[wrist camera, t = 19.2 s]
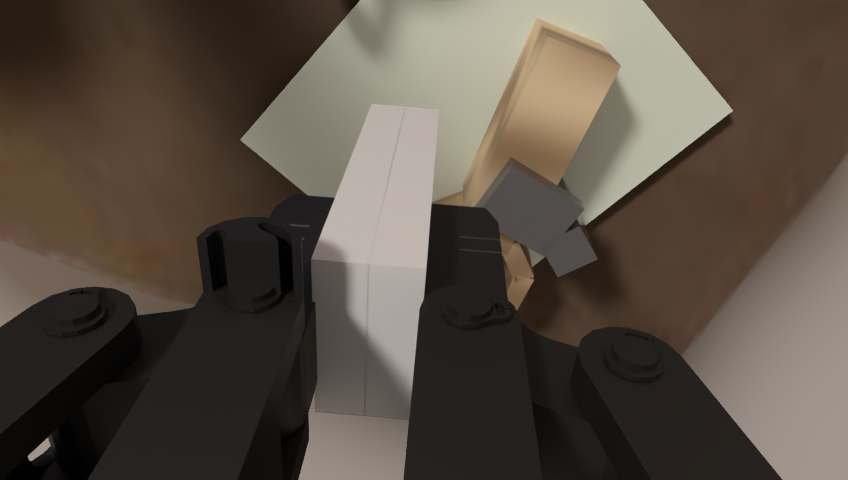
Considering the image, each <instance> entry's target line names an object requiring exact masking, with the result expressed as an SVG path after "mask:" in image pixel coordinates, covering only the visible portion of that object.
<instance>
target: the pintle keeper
mask: <svg viewBox="0 0 848 480" xmlns="http://www.w3.org/2000/svg"><path fill="white" fill-rule="evenodd" d="M475 207H480V208H486V209H487V210H488V211H489V212H490V214H491V215H492V216H493V217H494V218H495V219H496V220H497V221H498V224H499V231H500V232H502V233H503V234H505V235H507V236H509V237H510V238H512V239H514V240H516V241H517V242H519V243H521V244H523V245H524V246H526V247H528V248H529V249H531V250H533V251H535V252H536V253H538V254H540V255H542V256H543V257H545V256H546V258H547V260H548V261H549V263H550V265H551V266H552V268H553V270H554V271H555V273H556V275H557V277H560V276H562V275H564V274H566V273H569V272H571V271H573V270H575V269H578V268H580V267H582V266H584V265H586V264H589V263H591V262H593V261H595V260H598V259H597V256H596V253H595V251H594V248H593V245H592V243H591V240H590V237H589V235H588V232H587V229H586V227H585V224H584V221H583V219H582V216H581V213H582V212H583V211H584V207H583V204H582V202H581V199H579V198H577V197H576V196H574V195H572V194H571V192H570V190H569V188H568V186H567V184H566V182H565V180H564V179H563V177H562V178H561V180H560V182H559V184H558V185H556V184H554V183H553V182H551V181H549V180H548V179H546V178H545V177H543V176H541V175H540V174H538V173H536V172H535V171H533V170H531V169H530V168H528V167H527V166H525V165H523V164H522V163H520V162H518V161H517V160H515V159H513V158H512V157H511V158H510V159H509V161H508V162H507V164H506V165H505V166H504V168H503V169H502V170H501V172H500V173H499V174H498V176H497V177H496V178H495V180H494V181H493V182H492V184H491V185H490V186H489V188H488V189H487V191H486V192H485V193H484V195H483V196H482V197H481V199H480V200H479V201H478V203H477V204H476V205H475Z"/></svg>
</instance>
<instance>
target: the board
mask: <svg viewBox="0 0 848 480" xmlns="http://www.w3.org/2000/svg"><path fill="white" fill-rule="evenodd" d="M536 18H539V19H541V20H543V21H546V22H548V23H551V24H553V25H556V26H558V27H561V28H563V29H566V30H568V31H570V32H573V33H575V34H578V35H580V36H583V37H585V38H588V39H590V40H593V41H595V42H597V43H600V44H601V45H602V46H603V47H604V48H605V49H606V50H607V51H608V52H609V53H610V54H611V56H612V57H613V58H614V59H615V60H616V61H617V62H618V63H619V64H620V65H621V67H620V69H619V71H618V73H617V75H616V77H615V79H614V81H613V82H612V84H611V86H610V88H609V90H608V92H607V94H606V96H605V97H604V99H603V101H602V103H601V105H600V107H599V109H598V111H597V112H596V114H595V116H594V118H593V120H592V122H591V124H590V126H589V127H588V129H587V131H586V133H585V135H584V137H583V139H582V141H581V142H580V144H579V146H578V148H577V150H576V152H575V154H574V156H573V157H572V159H571V161H570V163H569V165H568V167H567V169H566V171H565V173H564V174H563V176H562V177H563V179H564V180H565V182H566V184H567V186H568V188H569V190H570V192H571V194H572V195H574V196H576V197H577V198H579V199H581V202H582V204H583V207H584V211H583V212H582V213H581V216H582V219H583V221H584V224H585V226H586V225H587V224H588V223H589V222H591V221H592V220H593V219H595V218H596V217H597V216H598V215H600V214H601V213H602V212H604V211H605V210H606V209H607V208H609V207H610V206H611V205H613V204H614V203H615V202H616V201H618V200H619V199H620V198H622V197H623V196H624V195H625V194H627V193H628V192H629V191H631V190H632V189H633V188H634V187H636V186H637V185H638V184H639V183H641V182H642V181H643V180H645V179H646V178H647V177H648V176H650V175H651V174H652V173H654V172H655V171H656V170H657V169H659V168H660V167H661V166H663V165H664V164H665V163H666V162H668V161H669V160H670V159H672V158H673V157H674V156H675V155H677V154H678V153H679V152H681V151H682V150H683V149H684V148H686V147H687V146H688V145H690V144H691V143H692V142H693V141H695V140H696V139H697V138H699V137H700V136H701V135H702V134H704V133H705V132H706V131H708V130H709V129H710V128H711V127H713V126H714V125H715V124H717V123H718V122H719V121H720V120H722V119H723V118H724V117H726V116H727V115H728V114H729V113H731V112H732V111H733V110H732V109H731V108H730V106H729V105H728V104H727V103H726V102H725V100H724V99H723V98H722V97H721V95H720V94H719V93H718V92H717V91H716V89H715V88H714V87H713V86H712V84H711V83H710V82H709V81H708V80H707V78H706V77H705V76H704V75H703V74H702V72H701V71H700V70H699V69H698V67H697V66H696V65H695V64H694V63H693V61H692V60H691V59H690V58H689V56H688V55H687V54H686V53H685V52H684V50H683V49H682V48H681V47H680V45H679V44H678V43H677V42H676V41H675V39H674V38H673V37H672V36H671V34H670V33H669V32H668V31H667V30H666V28H665V27H664V26H663V25H662V24H661V22H660V21H659V20H658V19H657V17H656V16H655V15H654V14H653V13H652V11H651V10H650V9H649V8H648V6H647V5H646V4H645V3H644V2H643V0H360V1H359V2H358V3H357V4H356V6H355V7H354V8H353V9H352V10H351V11H350V13H349V14H348V15H347V16H346V17H345V18H344V20H343V21H342V22H341V23H340V24H339V25H338V27H337V28H336V29H335V30H334V31H333V32H332V34H331V35H330V36H329V37H328V38H327V39H326V41H325V42H324V43H323V44H322V45H321V46H320V47H319V49H318V50H317V51H316V52H315V53H314V54H313V56H312V57H311V58H310V59H309V60H308V61H307V63H306V64H305V65H304V66H303V67H302V68H301V70H300V71H299V72H298V73H297V74H296V75H295V77H294V78H293V79H292V80H291V81H290V82H289V84H288V85H287V86H286V87H285V88H284V89H283V91H282V92H281V93H280V94H279V95H278V96H277V98H276V99H275V100H274V101H273V102H272V103H271V105H270V106H269V107H268V108H267V109H266V110H265V112H264V113H263V114H262V115H261V116H260V117H259V119H258V120H257V121H256V122H255V123H254V124H253V126H252V127H251V128H250V129H249V130H248V131H247V133H246V134H245V135H244V136H243V137H242V138H241V141H242V142H243V143H245V144H246V145H247V146H248V147H249V148H251V149H252V150H253V151H254V152H255V153H257V154H258V155H259V156H260V157H262V158H263V159H264V160H265V161H266V162H268V163H269V164H270V165H271V166H273V167H274V168H275V169H276V170H277V171H279V172H280V173H281V174H282V175H283V176H285V177H286V178H287V179H288V180H290V181H291V182H292V183H293V184H294V185H296V186H297V187H298V188H299V189H301V190H302V191H303V192H304V193H305V194H307V195H308V196H321V197H333V198H335V197H336V194H337V191H338V189H339V186H340V184H341V181H342V179H343V176H344V174H345V171H346V168H347V166H348V163H349V161H350V158H351V156H352V153H353V151H354V148H355V145H356V143H357V140H358V138H359V135H360V133H361V130H362V128H363V125H364V122H365V120H366V117H367V115H368V112H369V110H370V107H371V105H372V104H381V105H393V106H405V107H418V108H430V109H439V117H438V129H437V142H436V154H435V167H434V179H433V192H432V202H434V201H437V200H439V199H442V198H444V197H447V196H449V195H452V194H455V193H457V192H460V191H462V190H463V182H464V180H465V178H466V176H467V173H468V171H469V169H470V167H471V164H472V162H473V160H474V158H475V155H476V153H477V151H478V149H479V146H480V144H481V142H482V140H483V137H484V135H485V133H486V131H487V128H488V126H489V124H490V122H491V119H492V117H493V115H494V113H495V110H496V108H497V106H498V104H499V101H500V99H501V97H502V95H503V92H504V90H505V88H506V86H507V83H508V81H509V79H510V77H511V74H512V72H513V70H514V68H515V65H516V63H517V61H518V59H519V56H520V54H521V52H522V50H523V47H524V45H525V43H526V41H527V38H528V36H529V34H530V32H531V29H532V27H533V25H534V23H535V20H536ZM529 253H530V258H531V263H532V267H533V266H534V265H535V264H537V263H538V262H539V261H541V260H542V259H543V258H544V257H543V256H542V255H540V254H538V253H536V252H535V251H533V250H531V249H529ZM545 257H546V256H545Z"/></svg>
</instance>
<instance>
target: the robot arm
mask: <svg viewBox="0 0 848 480" xmlns="http://www.w3.org/2000/svg"><path fill="white" fill-rule="evenodd" d="M438 117H439V109H430V108H418V107H405V106H393V105H381V104H372V105H371V107H370V110H369V112H368V115H367V117H366V120H365V122H364V125H363V128H362V130H361V133H360V135H359V138H358V140H357V143H356V145H355V148H354V151H353V153H352V156H351V158H350V161H349V163H348V166H347V168H346V171H345V174H344V176H343V179H342V181H341V184H340V186H339V189H338V191H337V194H336V197H335V198H333V197H321V196H308V195H296V194H294V195H293V196H291V197H290V198H288V199H286V200H285V201H283V202H282V203H280V204H279V205H277V206H276V207H275V209H274V211H273V212H272V214H271V216H270V218H264V217H249V218H239V219H233V220H228V221H224V222H221V223H219V224H216V225H214V226H212V227H209V228H207V229H206V230H205V231H204V232H203V233H201V234H200V235H199V236H198V237H197V246H198V253H199V260H200V268H201V275H202V282H203V290H204V292H203V294H202V295H201V297H200V299H199V300H198V302H197V304H196V305H195V307H192V308H189V309H184V310H178V311H173V312H163V313H155V314H146V315H138V316H137V312H136V307H135V304H134V302H133V301H132V300H131V298H130V297H129V295H127V294H125V293H123V292H120V291H118V290H116V289H112V288H103V287H85V288H77V289H71V290H69V291H65V292H62V293H58V294H55V295H51V296H50V297H48V298H46V299H44V300H42V301H40V302H38V303H36V304H34V305H32V306H31V307H29V308H28V309H26V310H25V311H23V312H22V313H21V314H19V315H18V316H16V317H15V318H13V319H12V320H10V321H9V322H7V323H6V324H4V325H3V326H2V327H0V480H298V478H299V475H300V471H301V467H302V463H303V460H304V456H305V452H306V448H307V444H308V441H309V422H308V412H309V409H310V405H311V402H312V398H313V395H314V391H315V411H316V412H324V413H336V414H349V415H360V416H372V417H384V418H396V419H408V420H409V428H408V438H407V449H406V460H405V461H406V462H405V470H404V480H782V479H781V478H780V476H779V475H778V474H777V473H776V471H775V470H774V469H773V468H772V466H771V465H770V464H769V463H768V462H767V460H766V459H765V458H764V457H763V456H762V454H761V453H760V452H759V451H758V449H757V448H756V447H755V446H754V444H753V443H752V442H751V441H750V440H749V438H748V437H747V436H746V435H745V434H744V432H743V431H742V430H741V429H740V427H739V426H738V425H737V424H736V422H735V421H734V420H733V419H732V418H731V416H730V415H729V414H728V413H727V411H726V410H725V409H724V408H723V407H722V405H721V404H720V403H719V402H718V400H717V399H716V398H715V397H714V396H713V394H712V393H711V392H710V391H709V390H708V388H707V387H706V386H705V385H704V383H703V382H702V381H701V380H700V378H699V377H698V376H697V375H696V374H695V373H694V371H693V370H692V369H691V367H690V366H689V365H688V364H687V363H686V361H685V360H684V359H683V358H682V357H681V356H680V355H679V354H678V353H677V352H676V351H675V350H674V349H673V348H671V347H670V346H669V345H668V344H667V343H665V342H663V341H661V340H659V339H657V338H655V337H654V336H652V335H650V334H647V333H644V332H641V331H637V330H633V329H630V328H618V327H606V328H602V329H597V330H593V331H591V332H590V333H589V334H587V335H586V336H585V337H583V338H582V339H581V342H580V345H579V348H578V347H575V346H571V345H568V344H565V343H561V342H558V341H555V340H552V339H549V338H547V337H544V336H541V335H539V334H537V333H536V332H534V331H532V330H530V329H529V328H527V327H526V326H525V325H523V324H522V323H521V322H520V317H519V315H518V313H517V310H516V308H515V306H514V305H513V304H512V303H511V302H510V301H508V297H507V289H506V281H505V272H504V264H503V256H502V248H501V241H500V232H499V224H498V221H497V220H496V219H495V218H494V217H493V216H492V215H491V214H490V212H489V211H488V210H487V209H486V208H480V207H468V206H456V205H444V204H432V192H433V179H434V167H435V154H436V142H437V129H438ZM46 438H49V441H50V444H51V447H49V448H48V450H46V451H45V452H44V453H43V454H42V455H40V456H39V457H37V458H36V459H34V460H33V461H29V459H28V457H27V456H28V455H29V454H30V453H31V452H32V451H33V450H35V449H36V448H37V447H38V446H39V445H40V444H41V443H42V442H43V441H44V440H45V439H46Z"/></svg>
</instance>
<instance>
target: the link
mask: <svg viewBox="0 0 848 480" xmlns="http://www.w3.org/2000/svg"><path fill="white" fill-rule="evenodd" d="M620 67H621V65H620V64H619V63H618V62H617V61H616V60H615V59H614V58H613V57H612V56H611V54H610V53H609V52H608V51H607V50H606V49H605V48H604V47H603V46H602V45H601V44H600V43H597V42H595V41H593V40H590V39H588V38H585V37H583V36H580V35H578V34H575V33H573V32H570V31H568V30H566V29H563V28H561V27H558V26H556V25H553V24H551V23H548V22H546V21H543V20H541V19H539V18H536V20H535V23H534V25H533V27H532V29H531V32H530V34H529V36H528V38H527V41H526V43H525V45H524V47H523V50H522V52H521V54H520V56H519V59H518V61H517V63H516V65H515V68H514V70H513V72H512V74H511V77H510V79H509V81H508V83H507V86H506V88H505V90H504V92H503V95H502V97H501V99H500V101H499V104H498V106H497V108H496V110H495V113H494V115H493V117H492V119H491V122H490V124H489V126H488V128H487V131H486V133H485V135H484V137H483V140H482V142H481V144H480V146H479V149H478V151H477V153H476V155H475V158H474V160H473V162H472V164H471V167H470V169H469V171H468V173H467V176H466V178H465V180H464V182H463V190H462V191H460V192H457V193H455V194H452V195H449V196H447V197H444V198H442V199H439V200H437V201H434V202H432V204H444V205H456V206H468V207H475V205H476V204H477V203H478V201H479V200H480V199H481V197H482V196H483V195H484V193H485V192H486V191H487V189H488V188H489V186H490V185H491V184H492V182H493V181H494V180H495V178H496V177H497V176H498V174H499V173H500V172H501V170H502V169H503V168H504V166H505V165H506V164H507V162H508V161H509V159H510V158H511V157H512V158H513V159H515V160H517V161H518V162H520V163H522V164H523V165H525V166H527V167H528V168H530V169H531V170H533V171H535V172H536V173H538V174H540V175H541V176H543V177H545V178H546V179H548V180H549V181H551V182H553V183H554V184H556V185H558V184H559V182H560V180H561V178H562V176H563V174H564V173H565V171H566V169H567V167H568V165H569V163H570V161H571V159H572V157H573V156H574V154H575V152H576V150H577V148H578V146H579V144H580V142H581V141H582V139H583V137H584V135H585V133H586V131H587V129H588V127H589V126H590V124H591V122H592V120H593V118H594V116H595V114H596V112H597V111H598V109H599V107H600V105H601V103H602V101H603V99H604V97H605V96H606V94H607V92H608V90H609V88H610V86H611V84H612V82H613V81H614V79H615V77H616V75H617V73H618V71H619V69H620ZM499 232H500V231H499ZM500 241H501V248H502V256H503V264H504V272H505V281H506V289H507V297H508V301H510V302H511V303H512V304H513V305H514V306H515V308H516V310H518V308H519V306H520V304H521V303H522V301H523V299H524V297H525V295H526V294H527V292H528V290H529V288H530V287H531V285H532V283H533V281H534V278H533V277H534V273H533V268H532V263H531V258H530V253H529V248H528V247H526V246H524V245H523V244H521V243H519V242H517V241H516V240H514V239H512V238H510V237H509V236H507V235H505V234H503V233H502V232H500Z"/></svg>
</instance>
